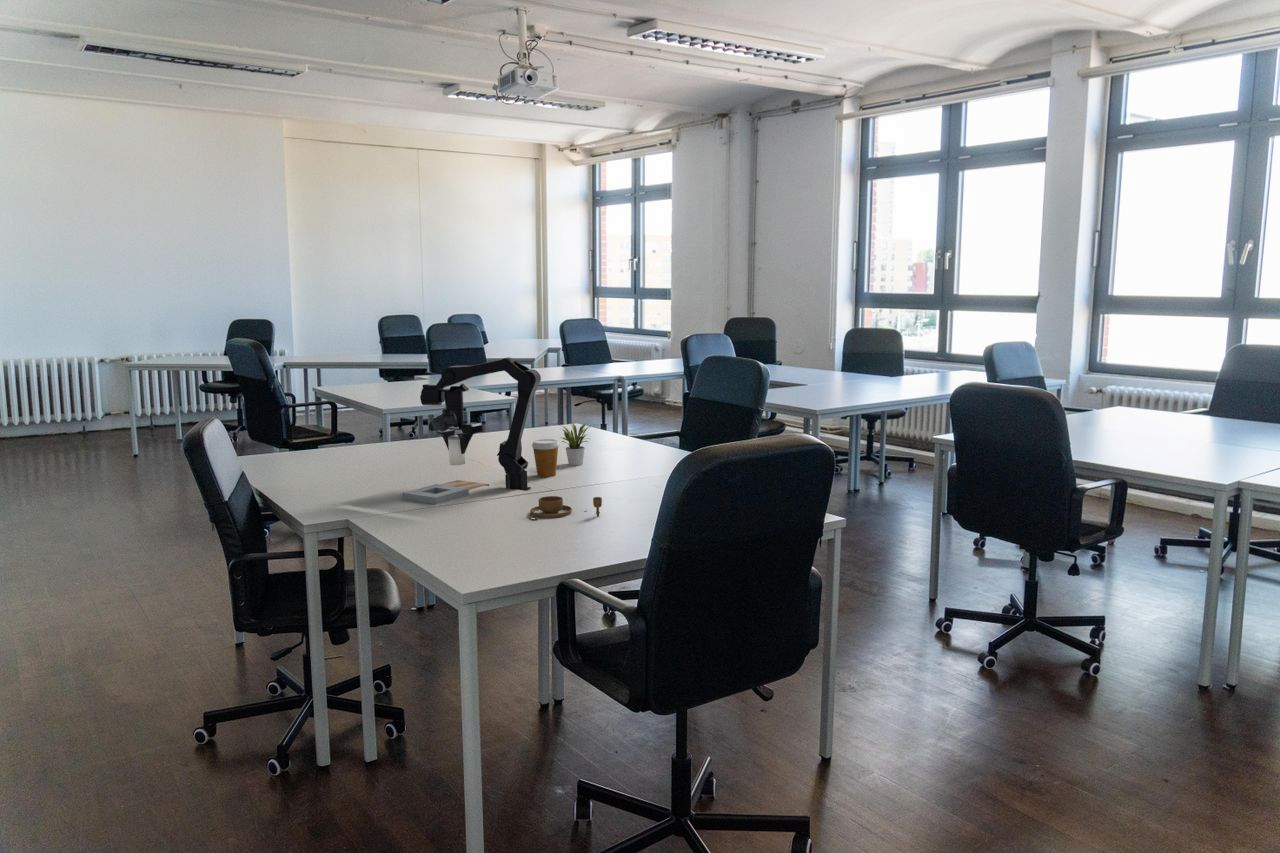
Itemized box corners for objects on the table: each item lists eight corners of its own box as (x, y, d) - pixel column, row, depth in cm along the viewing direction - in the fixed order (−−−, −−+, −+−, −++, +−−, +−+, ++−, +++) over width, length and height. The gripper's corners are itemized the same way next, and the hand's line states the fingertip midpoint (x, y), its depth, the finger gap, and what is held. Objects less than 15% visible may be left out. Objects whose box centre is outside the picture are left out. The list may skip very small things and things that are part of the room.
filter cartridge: (468, 463, 295) (467, 435, 293) (457, 465, 290) (456, 438, 289) (457, 461, 297) (455, 434, 296) (445, 464, 293) (444, 437, 292)
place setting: (563, 506, 271) (563, 487, 270) (606, 517, 257) (606, 497, 256) (514, 516, 260) (513, 496, 259) (556, 529, 245) (556, 508, 244)
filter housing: (468, 498, 282) (468, 488, 282) (436, 507, 270) (436, 497, 270) (436, 493, 289) (435, 484, 289) (403, 502, 278) (402, 492, 277)
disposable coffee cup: (529, 474, 317) (527, 440, 315) (555, 471, 321) (553, 438, 319) (537, 479, 308) (536, 444, 307) (564, 476, 312) (563, 442, 311)
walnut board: (489, 487, 297) (489, 484, 297) (459, 495, 286) (459, 492, 285) (457, 482, 305) (457, 480, 304) (427, 491, 293) (427, 488, 293)
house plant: (601, 460, 340) (600, 417, 338) (595, 467, 326) (594, 422, 324) (563, 460, 342) (562, 417, 339) (556, 467, 328) (555, 422, 325)
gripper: (415, 406, 289) (417, 455, 292) (458, 409, 279) (460, 459, 282) (440, 402, 298) (442, 449, 301) (482, 405, 289) (485, 453, 291)
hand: (456, 453), depth 293 cm, fingers closed on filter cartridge, 5 cm apart
